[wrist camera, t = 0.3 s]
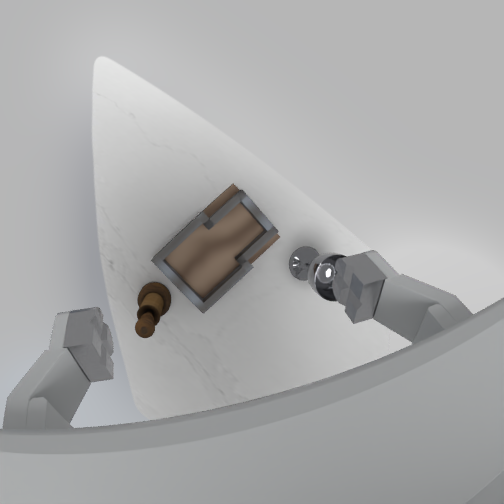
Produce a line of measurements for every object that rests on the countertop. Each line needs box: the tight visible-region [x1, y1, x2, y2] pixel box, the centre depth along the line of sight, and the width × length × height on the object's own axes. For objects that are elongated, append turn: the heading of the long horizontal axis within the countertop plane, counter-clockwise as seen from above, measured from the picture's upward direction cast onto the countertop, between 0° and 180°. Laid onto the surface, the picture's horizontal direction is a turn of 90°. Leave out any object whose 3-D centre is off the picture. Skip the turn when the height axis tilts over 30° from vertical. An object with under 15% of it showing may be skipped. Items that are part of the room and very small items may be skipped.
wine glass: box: [289, 247, 346, 301], centre depth 60 cm, size 8×8×15 cm
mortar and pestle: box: [135, 282, 171, 338], centre depth 53 cm, size 7×6×18 cm
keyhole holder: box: [151, 184, 280, 314], centre depth 61 cm, size 14×21×4 cm, turn 132°
